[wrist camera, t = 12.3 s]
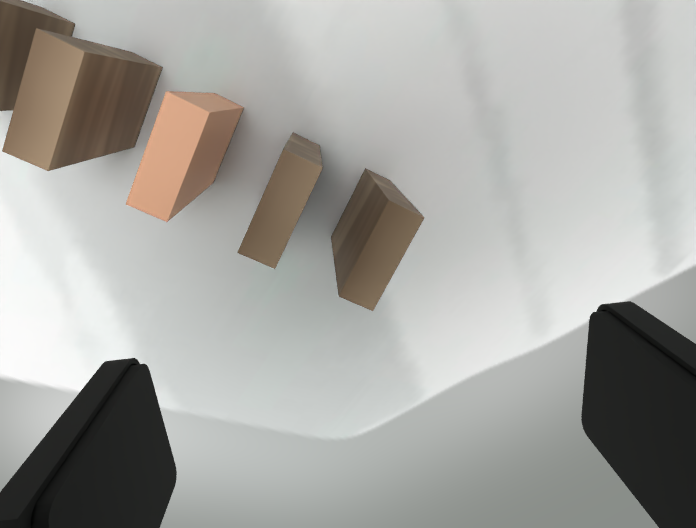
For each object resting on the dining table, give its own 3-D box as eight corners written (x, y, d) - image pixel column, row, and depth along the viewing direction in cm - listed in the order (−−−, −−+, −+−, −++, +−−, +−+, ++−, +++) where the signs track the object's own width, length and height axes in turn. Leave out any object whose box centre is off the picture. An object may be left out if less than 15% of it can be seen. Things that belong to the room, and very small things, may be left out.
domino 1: (390, 180, 31) (424, 217, 21) (355, 248, 32) (372, 310, 23) (365, 168, 30) (389, 200, 21) (331, 237, 32) (338, 296, 22)
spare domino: (243, 107, 29) (209, 112, 19) (213, 182, 30) (167, 221, 21) (215, 93, 28) (165, 91, 19) (185, 170, 30) (125, 204, 20)
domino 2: (319, 145, 30) (322, 168, 20) (286, 216, 31) (274, 268, 22) (292, 132, 29) (283, 148, 20) (260, 205, 31) (237, 252, 21)
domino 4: (162, 67, 28) (84, 51, 18) (134, 147, 29) (48, 171, 20) (131, 52, 27) (36, 28, 18) (104, 133, 29) (2, 151, 19)
